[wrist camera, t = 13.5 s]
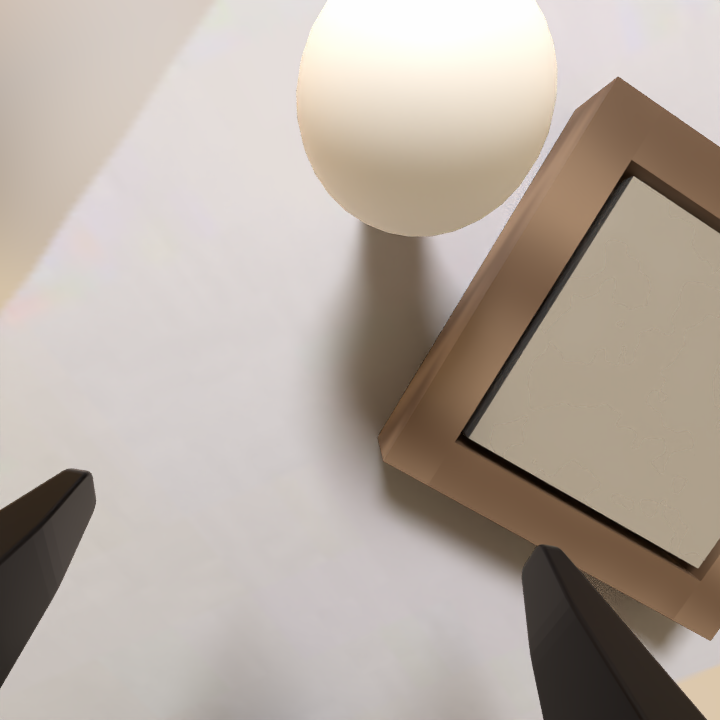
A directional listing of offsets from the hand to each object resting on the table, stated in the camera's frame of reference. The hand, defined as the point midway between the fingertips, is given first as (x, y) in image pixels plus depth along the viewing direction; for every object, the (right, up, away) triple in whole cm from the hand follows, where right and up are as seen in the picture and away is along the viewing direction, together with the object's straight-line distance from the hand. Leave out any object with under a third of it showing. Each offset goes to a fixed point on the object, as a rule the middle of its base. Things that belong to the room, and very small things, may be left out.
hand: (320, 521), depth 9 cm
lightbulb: (+2, +11, +10) cm, 15 cm away
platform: (+13, +3, +11) cm, 17 cm away
